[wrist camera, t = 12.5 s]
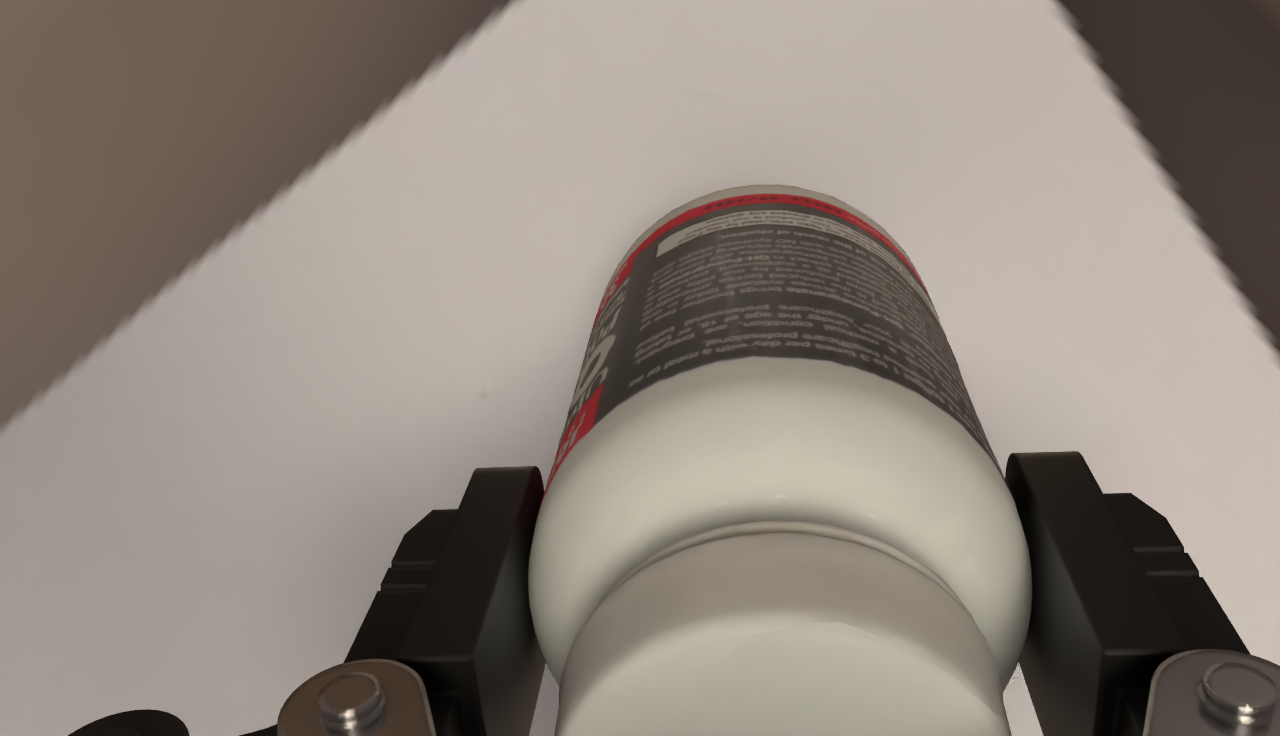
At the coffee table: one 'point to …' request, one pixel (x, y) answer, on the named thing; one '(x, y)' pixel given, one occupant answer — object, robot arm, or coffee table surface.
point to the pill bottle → (775, 494)
